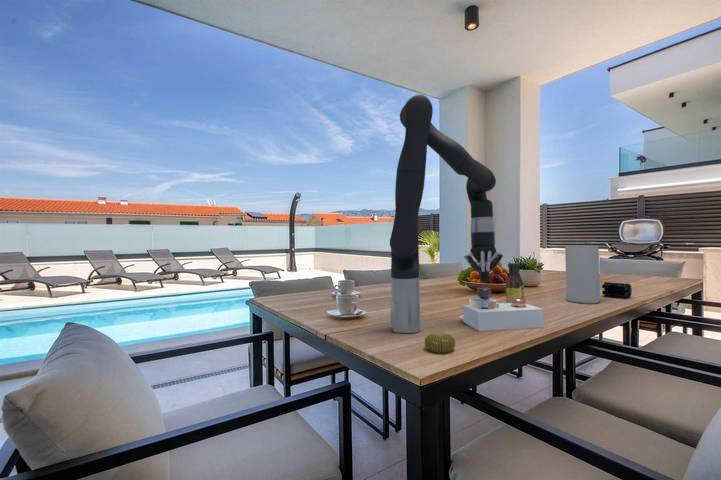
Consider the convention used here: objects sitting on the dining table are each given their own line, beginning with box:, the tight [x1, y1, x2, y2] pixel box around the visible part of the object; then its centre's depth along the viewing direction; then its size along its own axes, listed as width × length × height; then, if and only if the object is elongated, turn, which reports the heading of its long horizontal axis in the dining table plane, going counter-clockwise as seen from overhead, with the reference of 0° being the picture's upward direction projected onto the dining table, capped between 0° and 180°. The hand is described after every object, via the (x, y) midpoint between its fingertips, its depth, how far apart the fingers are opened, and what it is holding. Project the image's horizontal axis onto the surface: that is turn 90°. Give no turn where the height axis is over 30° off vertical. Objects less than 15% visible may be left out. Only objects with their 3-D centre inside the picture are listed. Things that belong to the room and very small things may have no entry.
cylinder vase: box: [564, 244, 601, 305], centre depth 152 cm, size 12×12×25 cm
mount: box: [462, 302, 545, 332], centre depth 115 cm, size 22×12×6 cm, turn 96°
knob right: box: [511, 297, 527, 308], centre depth 116 cm, size 5×5×8 cm
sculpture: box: [424, 332, 456, 354], centre depth 91 cm, size 8×4×8 cm
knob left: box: [476, 287, 493, 309], centre depth 114 cm, size 5×5×8 cm
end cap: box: [601, 281, 633, 300], centre depth 160 cm, size 10×7×7 cm
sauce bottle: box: [505, 262, 525, 303], centre depth 128 cm, size 7×6×20 cm
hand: (484, 282), depth 114 cm, fingers closed
